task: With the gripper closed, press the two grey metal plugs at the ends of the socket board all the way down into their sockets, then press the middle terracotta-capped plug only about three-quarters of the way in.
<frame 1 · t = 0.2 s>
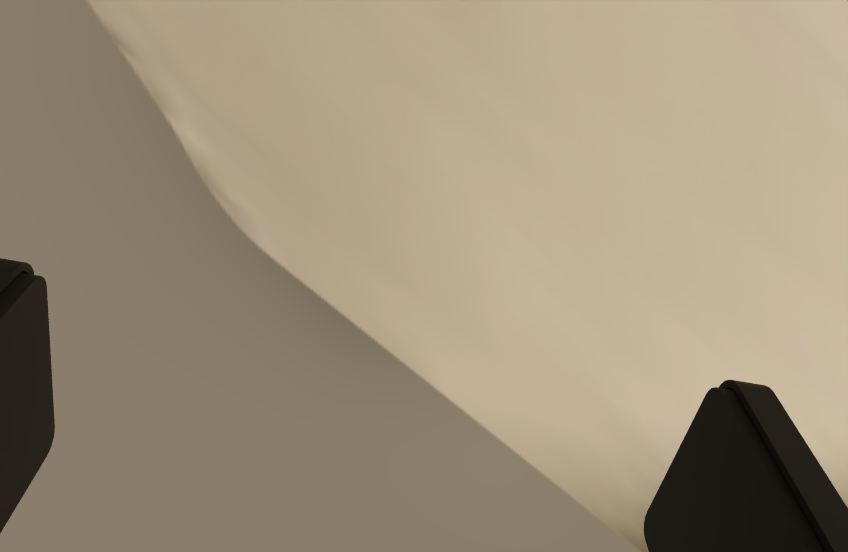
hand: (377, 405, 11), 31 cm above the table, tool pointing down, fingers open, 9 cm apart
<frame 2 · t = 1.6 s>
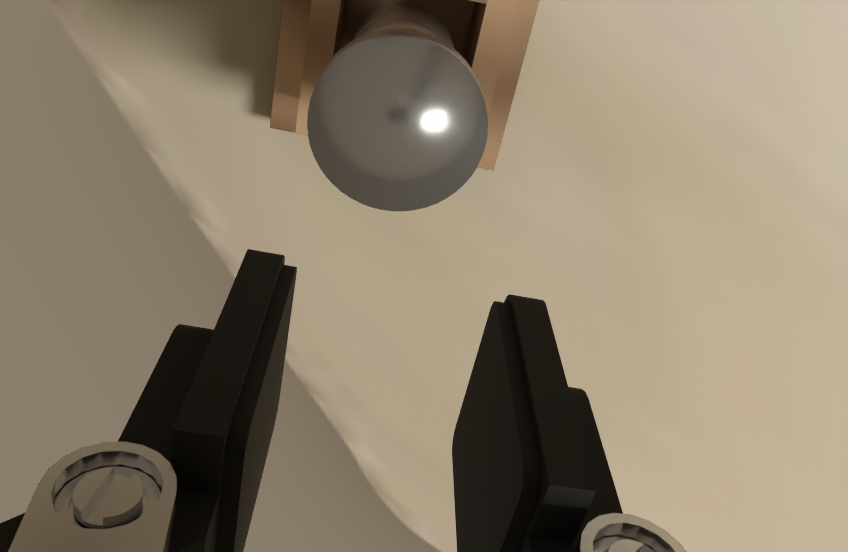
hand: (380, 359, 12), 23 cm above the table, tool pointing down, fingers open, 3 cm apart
plug 2: (400, 87, 24), point 9 cm above the table, slide at 0.0 cm
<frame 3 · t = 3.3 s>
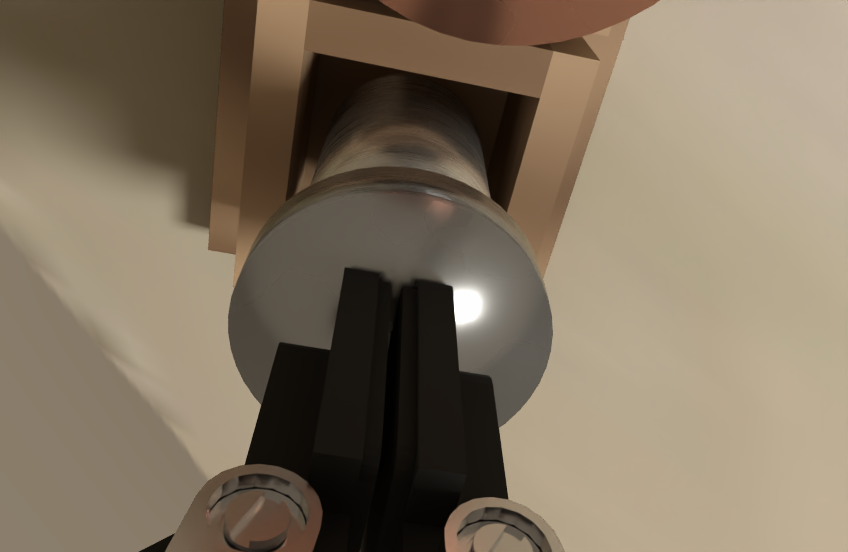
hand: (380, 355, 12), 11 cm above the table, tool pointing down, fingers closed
plug 2: (398, 224, 15), point 7 cm above the table, slide at 1.4 cm, touching gripper
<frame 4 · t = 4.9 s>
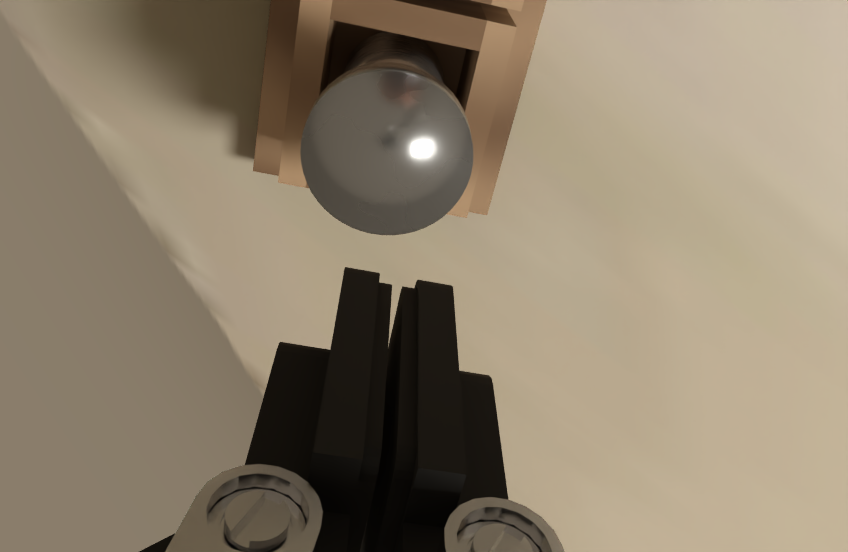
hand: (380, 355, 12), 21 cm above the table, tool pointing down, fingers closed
plug 2: (390, 114, 25), point 6 cm above the table, slide at 2.7 cm
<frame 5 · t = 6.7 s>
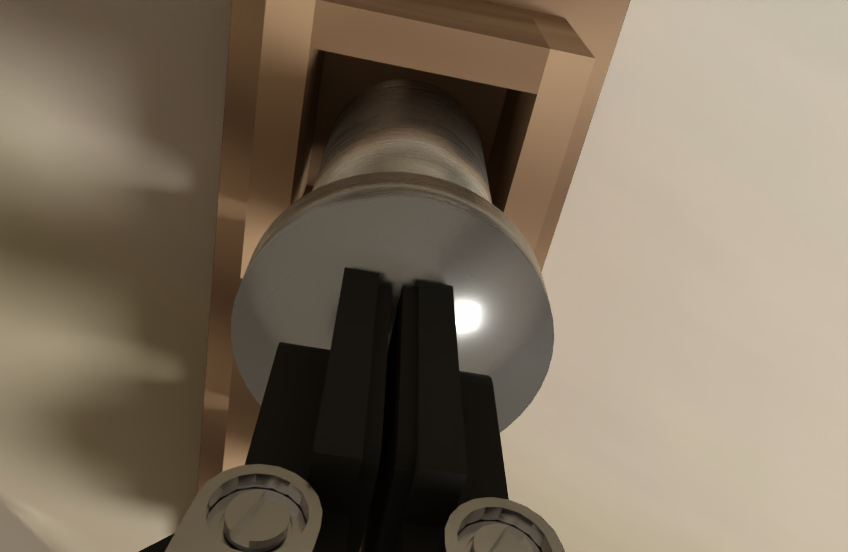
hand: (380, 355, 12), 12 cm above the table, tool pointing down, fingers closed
plug 1: (400, 229, 15), point 8 cm above the table, slide at 0.8 cm, touching gripper
socket board: (366, 316, 26), on the table
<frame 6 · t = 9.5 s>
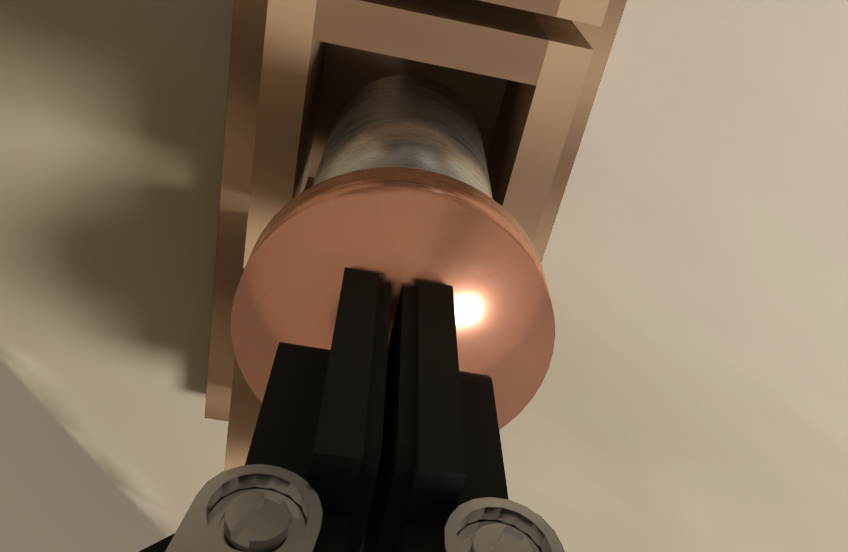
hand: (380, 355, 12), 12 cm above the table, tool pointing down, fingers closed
plug mid: (400, 225, 15), point 8 cm above the table, slide at 0.4 cm, touching gripper
socket board: (409, 99, 22), on the table
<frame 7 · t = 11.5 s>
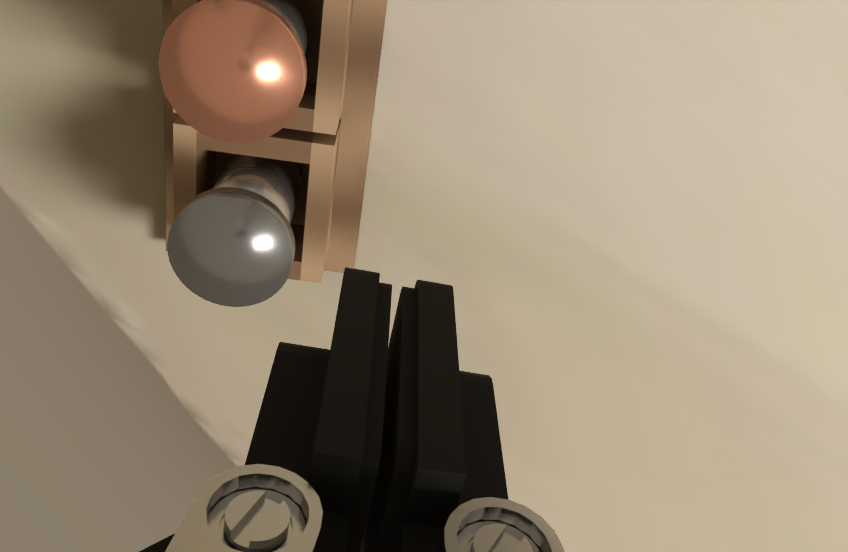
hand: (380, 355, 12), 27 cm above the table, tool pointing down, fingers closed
plug mid: (252, 49, 30), point 7 cm above the table, slide at 1.9 cm
socket board: (277, 19, 36), on the table
plug 2: (248, 213, 34), point 6 cm above the table, slide at 2.7 cm
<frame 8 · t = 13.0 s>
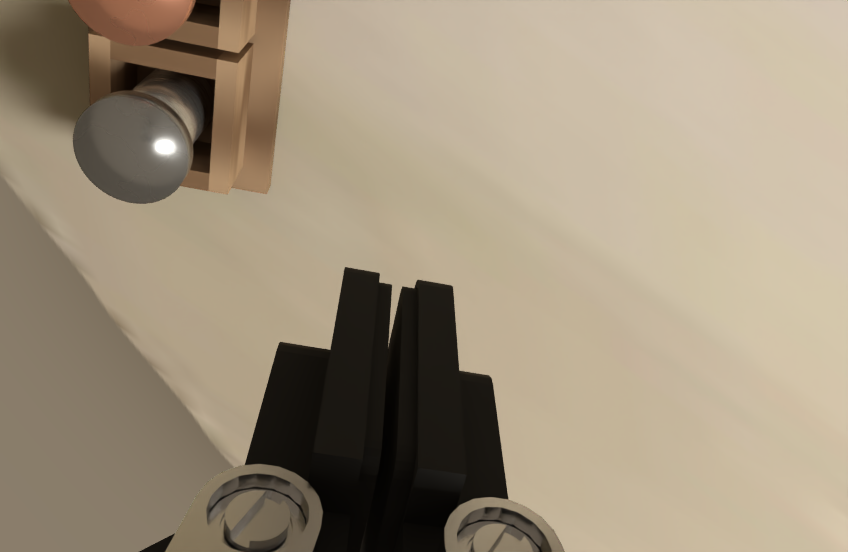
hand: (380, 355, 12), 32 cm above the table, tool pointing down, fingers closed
plug 2: (157, 123, 37), point 6 cm above the table, slide at 2.7 cm
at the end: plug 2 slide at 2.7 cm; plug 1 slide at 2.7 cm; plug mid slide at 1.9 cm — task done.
